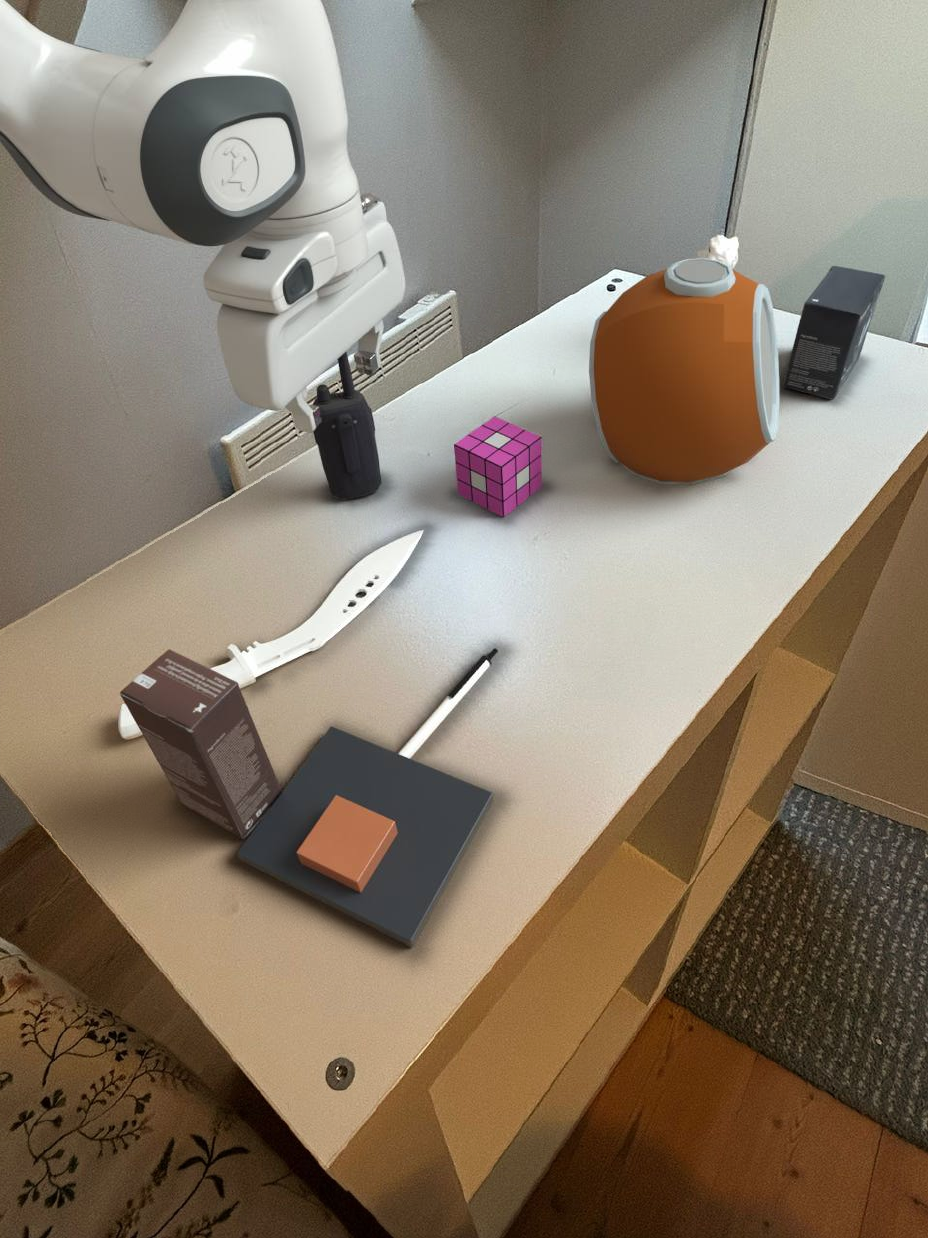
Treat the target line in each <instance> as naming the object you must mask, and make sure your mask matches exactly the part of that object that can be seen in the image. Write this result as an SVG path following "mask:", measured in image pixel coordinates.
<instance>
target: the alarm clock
mask: <svg viewBox="0 0 928 1238" xmlns="http://www.w3.org/2000/svg"><path fill="white" fill-rule="evenodd" d="M775 321H776V320H775V314H774V307H773V303H772V298H771V294H770V289H768V288H767V286H766V285H765V284H763V283H758V282H756V281H754V280H753V279H750V278H749V277H747V276H745V275H744V274H741V273H739V272H738V271H736V270H734V269H733V270H732V268H731V267H730V266H728V265H726V264H725V263H723V262H721V261H717V260H711V259H706V258H698V257H695V258H686V259H683V260H679V261H676V262H673V263H672V264H671V265H670V266H669V267H668V268H665V269H662V270H660V271H657V272H655V273H651V274H649V275H646V276H645V277H644V278H642V279H641V280H639V281H638V282H636V283H635V284H633V285H632V286H630V287H629V288H628V289H627V290H624V291H623V292H622V293H621V294H620V295H619V297H618V298H617V299H616V300H615V301H614V302H613V304H611V306H610V307H609V308H608V309H607V310H605V311H602V313H601V314H600V315H599V316H598V317H597V318H596V319H595V322H594V326H593V330H592V334H591V338H590V343H589V357H588V358H589V361H588V376H589V378H588V379H589V388H590V401H591V405H592V411H593V416H594V421H595V426H596V429H597V433H598V434H599V438H600V441H601V442H602V446H603V448H604V450H605V452H606V454H607V455H608V456H609V457H610V458H611V460H612V461H613V462H614V464H620V465H621V466H623V467H624V468H625V469H627V470H628V471H629V472H631V473H632V474H633V475H635V476H637V477H640V478H643V479H646V480H648V481H652V482H655V483H658V484H663V485H665V484H666V485H693V484H699V483H702V482H706V481H711V480H716V479H720V478H724V477H726V475H727V474H728V473H729V472H731V471H732V470H734V469H737V468H739V467H742V465H744V464H747V463H749V462H750V461H751V460H752V459H754V457H755V456H756V455H758V454H759V453H760V452H761V451H762V450H763V449H765V448H766V447H767V446H768V445H769V444H771V443H772V442H774V441H775V440H776V439H777V433H778V430H779V421H780V420H779V419H780V418H779V417H780V369H779V368H780V367H779V351H778V349H779V348H778V340H777V338H778V337H777V329H776V322H775Z"/></svg>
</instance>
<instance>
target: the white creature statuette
mask: <svg viewBox="0 0 928 1238" xmlns="http://www.w3.org/2000/svg"><path fill="white" fill-rule="evenodd" d="M739 244H740V243H739V238H738V237H737V236H732V237H731V238H727V237H726V236H724V234H717V235H715V236H714V237H711V238H710V240H709V242H708V244H707V246H706V247H705V249H702V250H700V251H698V252H697V253H696V255H697V258H706V259H711V260H717V261H721V262H723V263H725V264H726V265H728V266H730V267H731V268H732V270H734V269H735V267H736V265H737V263H738V261H739V253H738V249H739Z"/></svg>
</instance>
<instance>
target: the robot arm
mask: <svg viewBox="0 0 928 1238" xmlns="http://www.w3.org/2000/svg"><path fill="white" fill-rule="evenodd" d="M348 115H349V114H348V109H347V103H346V96H345V90H344V83H343V78H342V73H341V67H340V63H339V58H338V54H337V49H336V45H335V40H334V36H333V32H332V29H331V26H330V22H329V19H328V16H327V13H326V10H325V7H324V4H323V2H322V0H187V1H186V3H185V5H184V7H183V9H182V11H181V13H180V15H179V17H178V19H177V21H176V22H175V24H174V25H173V26H172V27H171V29H170V31H169V32H168V33H167V35H166V36H165V37H164V39H163V40H162V41H161V42H160V43H159V44H158V45H157V46H156V47H155V48H154V50H152V51H151V52H150V53H148V54H147V55H146V56H144V57H143V58H136V57H130V56H125V55H124V56H123V55H118V54H117V55H116V54H111V53H107V52H103V51H100V50H97V49H94V48H90V47H86V46H82V45H78V44H76V43H75V44H74V43H70V42H67V41H63V40H60V39H58V38H56V37H53V36H52V35H49V34H47V33H45V32H44V31H42V30H40V29H39V28H37V27H36V26H35V25H33V24H32V23H31V22H30V21H28V20H27V18H25V17H24V16H23V15H22V14H20V12H19V11H17V10H16V9H15V8H14V7H13V6H12V5H11V4H9V2H7V1H6V0H0V143H1V145H2V146H3V147H4V149H5V150H6V151H7V153H8V154H9V155H10V157H11V158H12V159H13V160H14V162H15V164H16V165H17V166H18V167H19V169H20V170H21V171H22V173H23V174H24V175H25V177H26V178H27V179H28V180H29V181H30V183H31V184H32V185H33V186H34V187H35V189H37V190H38V191H39V192H40V194H42V195H43V196H44V197H45V198H46V199H47V200H49V201H50V202H51V203H53V204H54V205H56V206H57V207H59V208H61V209H63V210H64V211H67V212H69V213H71V214H73V215H77V216H80V217H84V218H91V219H97V220H103V221H107V222H114V223H117V224H121V225H123V226H127V227H129V228H133V229H136V230H139V231H142V232H146V233H149V234H152V235H157V236H159V237H163V238H166V239H170V240H173V241H177V242H180V243H184V244H187V245H192V246H202V247H219V246H222V247H221V249H220V250H219V252H218V253H217V255H216V256H215V257H214V259H213V260H212V261H211V263H210V264H209V265H208V266H207V268H206V270H205V272H204V274H203V286H204V288H205V293H206V295H207V297H208V298H209V299H210V301H212V302H215V303H219V304H221V305H220V307H219V310H218V313H217V316H216V331H217V337H218V341H219V342H218V343H219V346H220V350H221V354H222V357H223V361H224V364H225V368H226V372H227V373H228V374H227V375H228V377H229V380H230V384H231V386H232V389H233V391H234V394H235V395H236V397H238V399H240V400H241V401H242V402H244V403H246V404H247V405H250V406H253V407H256V408H258V409H259V408H260V409H264V410H269V411H274V412H280V411H281V410H283V409H284V408H285V409H287V411H289V413H291V415H292V419H293V423H294V426H295V428H296V429H297V430H298V431H300V432H304V433H308V434H313V431H314V430H315V429H316V428H317V427H318V426H319V425H320V424H321V423H322V418H321V417H320V414H321V413H320V409H319V406H315V405H313V404H310V405H309V403H307V402H306V400H305V399H307V397H308V395H309V394H308V389H307V387H308V386H309V385H310V384H312V383H313V382H314V381H315V380H317V378H318V377H319V376H320V375H321V374H323V373H324V372H325V371H326V370H327V369H328V368H330V366H332V365H333V364H334V363H335V362H336V361H338V358H339V357H340V356H341V355H343V354H344V353H345V352H347V351H349V349H351V347H353V346H354V345H355V344H356V343H358V344H357V351H356V352H355V353H354V354H353V360H354V363H355V370H356V371H357V373H359V374H361V375H366V376H372V375H373V374H374V373H376V372H377V371H378V370H379V369H380V368H381V366H382V363H381V355H380V350H381V349H380V348H381V344H382V339H383V334H384V328H385V327H384V318H385V317H386V316H387V315H389V313H391V312H392V311H393V310H394V309H396V307H398V305H400V304H401V303H402V302H403V300H404V296H405V292H406V285H407V284H406V276H405V272H404V265H403V262H402V261H403V260H402V256H401V252H400V248H399V243H398V240H397V236H396V233H395V231H394V228H393V226H392V225H391V224H390V223H389V221H388V218H387V212H386V211H387V210H386V206H385V204H384V202H383V201H381V199H380V198H379V197H378V196H376V195H374V194H373V193H371V192H366V193H363V194H362V195H361V192H360V191H361V190H360V185H359V180H358V176H357V174H356V172H355V170H354V166H353V165H352V163H351V160H350V157H349V152H348V139H347V138H348V127H349V116H348Z"/></svg>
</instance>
